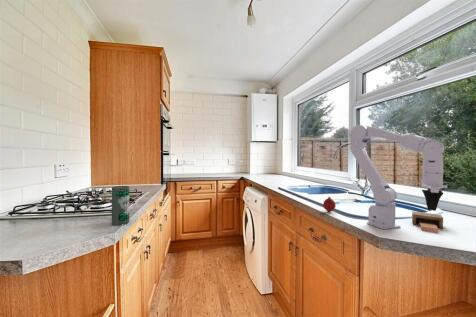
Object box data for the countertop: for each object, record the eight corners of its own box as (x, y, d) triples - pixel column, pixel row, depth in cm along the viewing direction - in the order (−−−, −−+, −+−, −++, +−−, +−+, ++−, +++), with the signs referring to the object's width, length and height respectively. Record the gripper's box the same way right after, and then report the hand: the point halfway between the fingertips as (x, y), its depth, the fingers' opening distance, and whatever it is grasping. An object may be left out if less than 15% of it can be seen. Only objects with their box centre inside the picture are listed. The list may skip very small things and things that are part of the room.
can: (124, 225, 87) (124, 188, 87) (108, 225, 87) (109, 188, 87) (131, 220, 93) (131, 185, 93) (116, 220, 93) (116, 185, 93)
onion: (336, 214, 109) (336, 198, 108) (324, 213, 110) (324, 197, 110) (333, 211, 114) (334, 195, 114) (322, 210, 115) (322, 195, 115)
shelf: (442, 228, 88) (443, 218, 88) (412, 224, 93) (412, 214, 93) (440, 225, 93) (440, 214, 92) (412, 220, 98) (412, 211, 98)
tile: (438, 234, 83) (438, 228, 83) (420, 231, 86) (421, 226, 86) (435, 229, 88) (436, 224, 88) (419, 227, 91) (419, 222, 91)
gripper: (451, 174, 72) (450, 215, 72) (443, 172, 84) (443, 207, 84) (423, 173, 76) (422, 212, 76) (420, 171, 88) (419, 205, 88)
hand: (431, 209), depth 80 cm, fingers closed
